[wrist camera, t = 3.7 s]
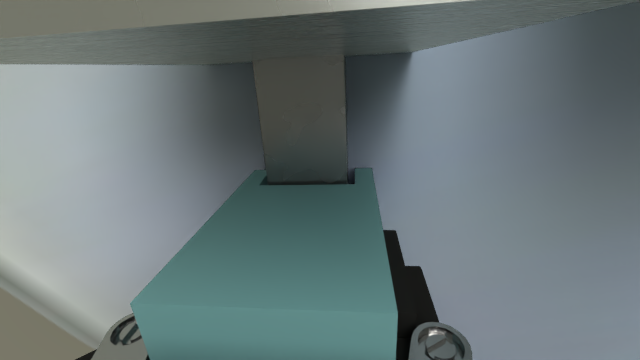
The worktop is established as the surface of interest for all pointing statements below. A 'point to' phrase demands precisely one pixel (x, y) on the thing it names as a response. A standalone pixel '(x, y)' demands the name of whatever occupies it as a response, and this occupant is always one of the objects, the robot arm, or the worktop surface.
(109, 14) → the cabinet
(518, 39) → the worktop surface
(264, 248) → the carriage
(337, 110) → the rail
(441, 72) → the worktop surface
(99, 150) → the worktop surface
